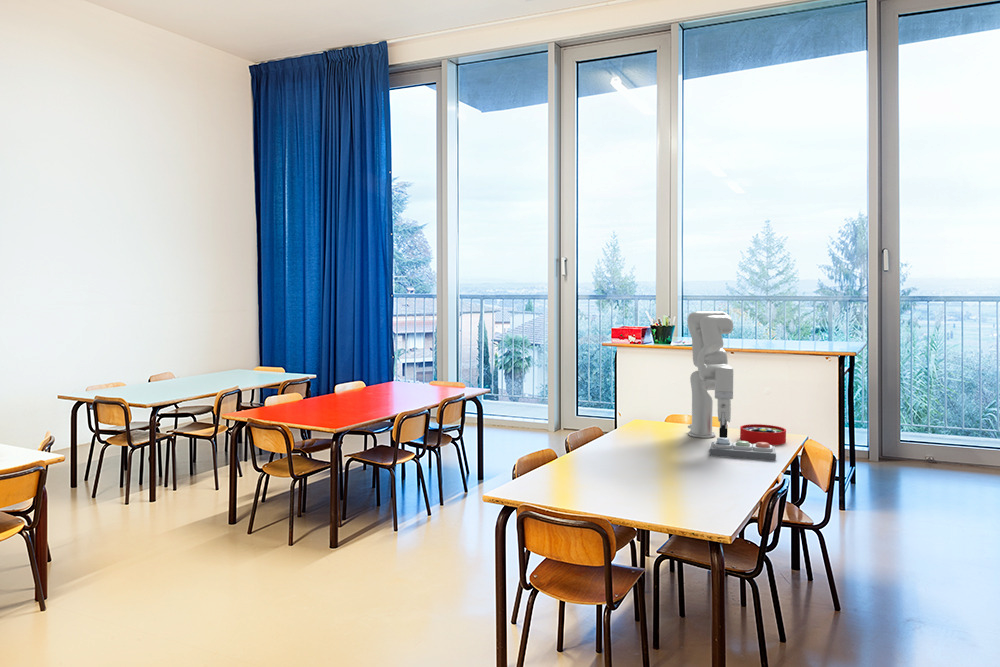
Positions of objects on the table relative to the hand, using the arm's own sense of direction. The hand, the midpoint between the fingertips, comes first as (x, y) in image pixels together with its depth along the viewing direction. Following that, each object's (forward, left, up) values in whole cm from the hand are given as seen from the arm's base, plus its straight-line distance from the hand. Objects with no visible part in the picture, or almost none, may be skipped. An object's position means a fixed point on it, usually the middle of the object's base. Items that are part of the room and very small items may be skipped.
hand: (723, 437), depth 293 cm
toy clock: (-11, +34, -8) cm, 37 cm away
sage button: (+5, +6, -4) cm, 9 cm away
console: (+5, +6, -7) cm, 11 cm away
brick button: (+11, +12, -4) cm, 16 cm away
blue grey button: (0, 0, -3) cm, 3 cm away
